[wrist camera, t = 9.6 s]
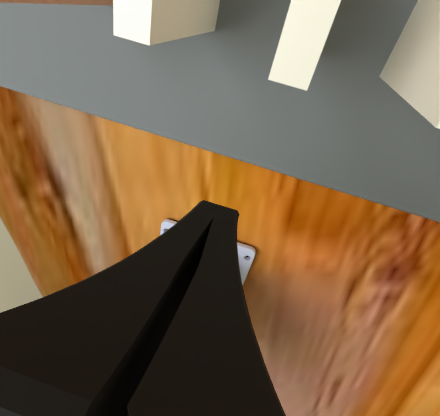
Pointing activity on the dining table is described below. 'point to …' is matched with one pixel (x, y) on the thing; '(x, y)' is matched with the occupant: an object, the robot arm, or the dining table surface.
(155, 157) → the dining table surface
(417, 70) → the tile
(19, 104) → the dining table surface
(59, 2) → the tile end
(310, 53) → the tile
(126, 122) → the mat
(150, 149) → the dining table surface
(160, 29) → the tile
